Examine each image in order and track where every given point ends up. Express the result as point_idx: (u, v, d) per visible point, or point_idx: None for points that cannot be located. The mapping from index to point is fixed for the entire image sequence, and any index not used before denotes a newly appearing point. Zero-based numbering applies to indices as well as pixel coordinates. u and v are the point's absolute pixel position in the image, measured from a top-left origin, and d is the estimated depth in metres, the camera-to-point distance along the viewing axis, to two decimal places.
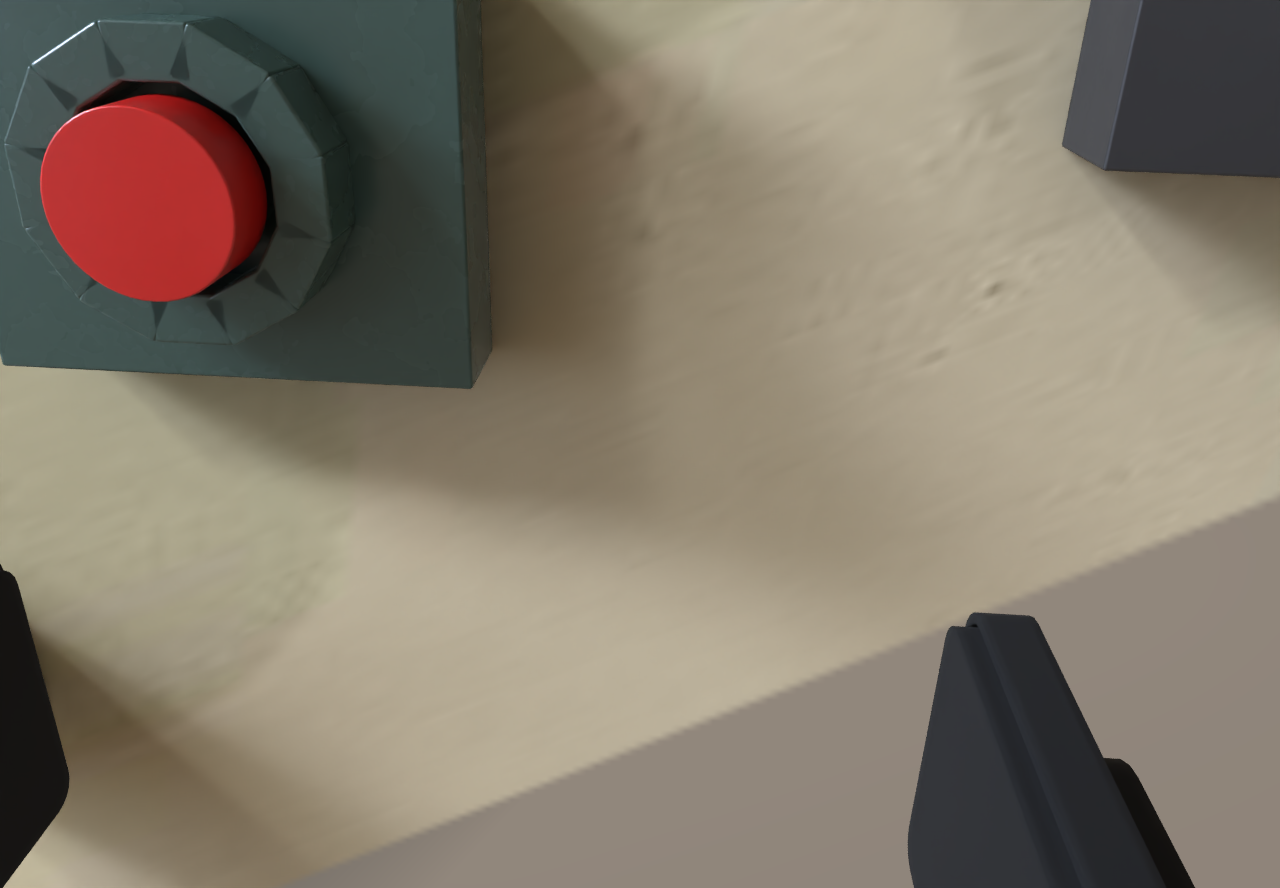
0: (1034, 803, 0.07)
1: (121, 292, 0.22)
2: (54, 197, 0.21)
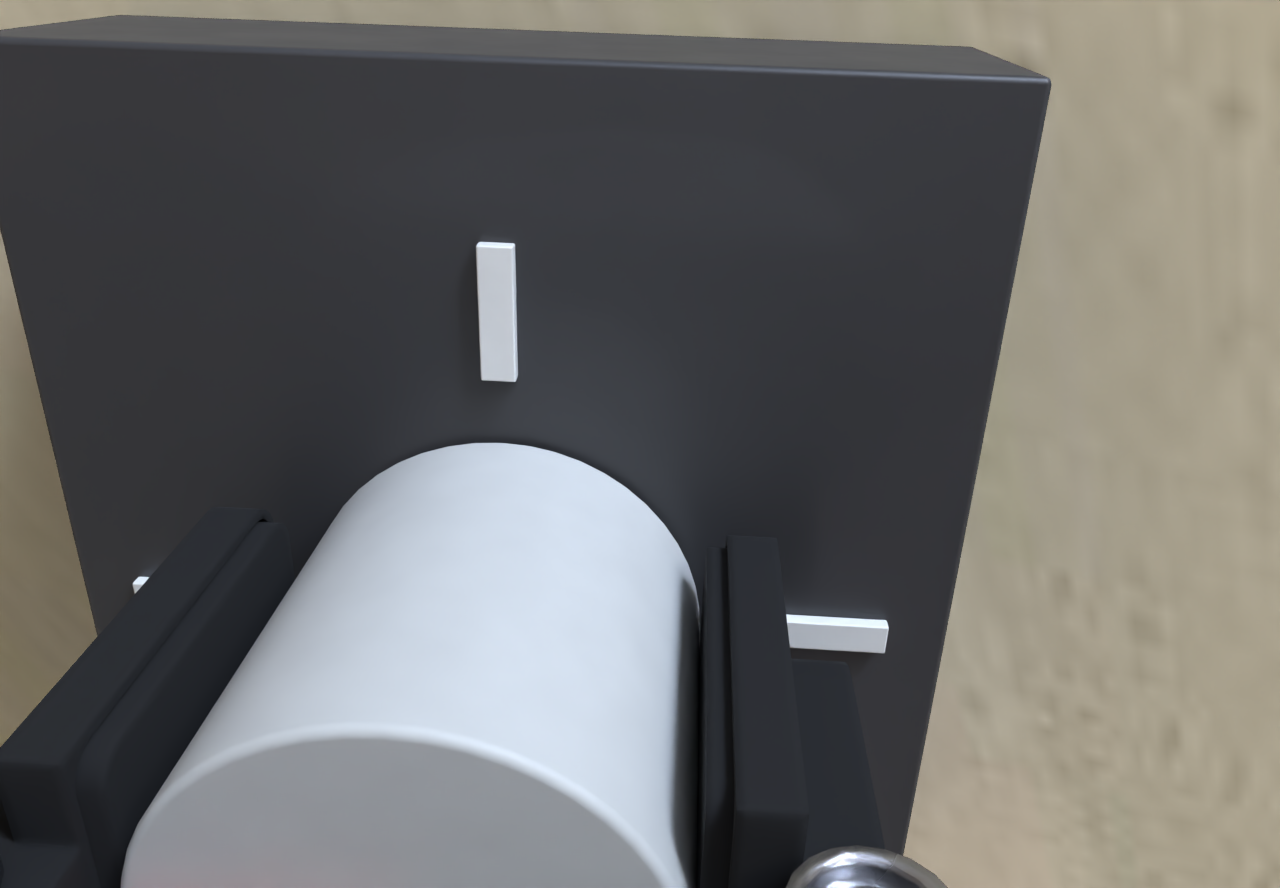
0: (719, 682, 0.09)
1: None
2: None
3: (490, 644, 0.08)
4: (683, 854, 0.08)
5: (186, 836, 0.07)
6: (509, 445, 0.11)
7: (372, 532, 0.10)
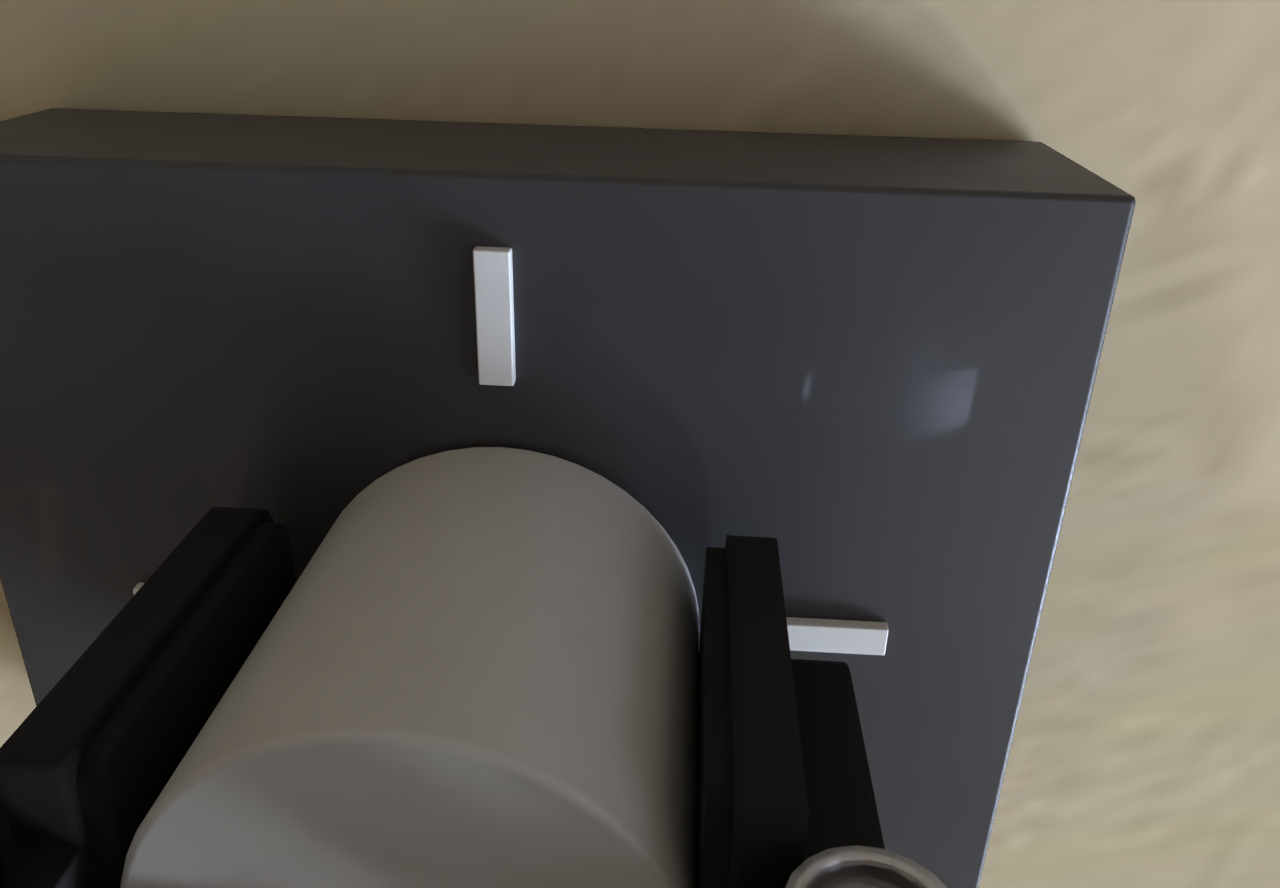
0: (719, 682, 0.09)
1: None
2: None
3: (488, 651, 0.08)
4: (683, 859, 0.08)
5: (185, 843, 0.07)
6: (507, 449, 0.11)
7: (370, 537, 0.10)
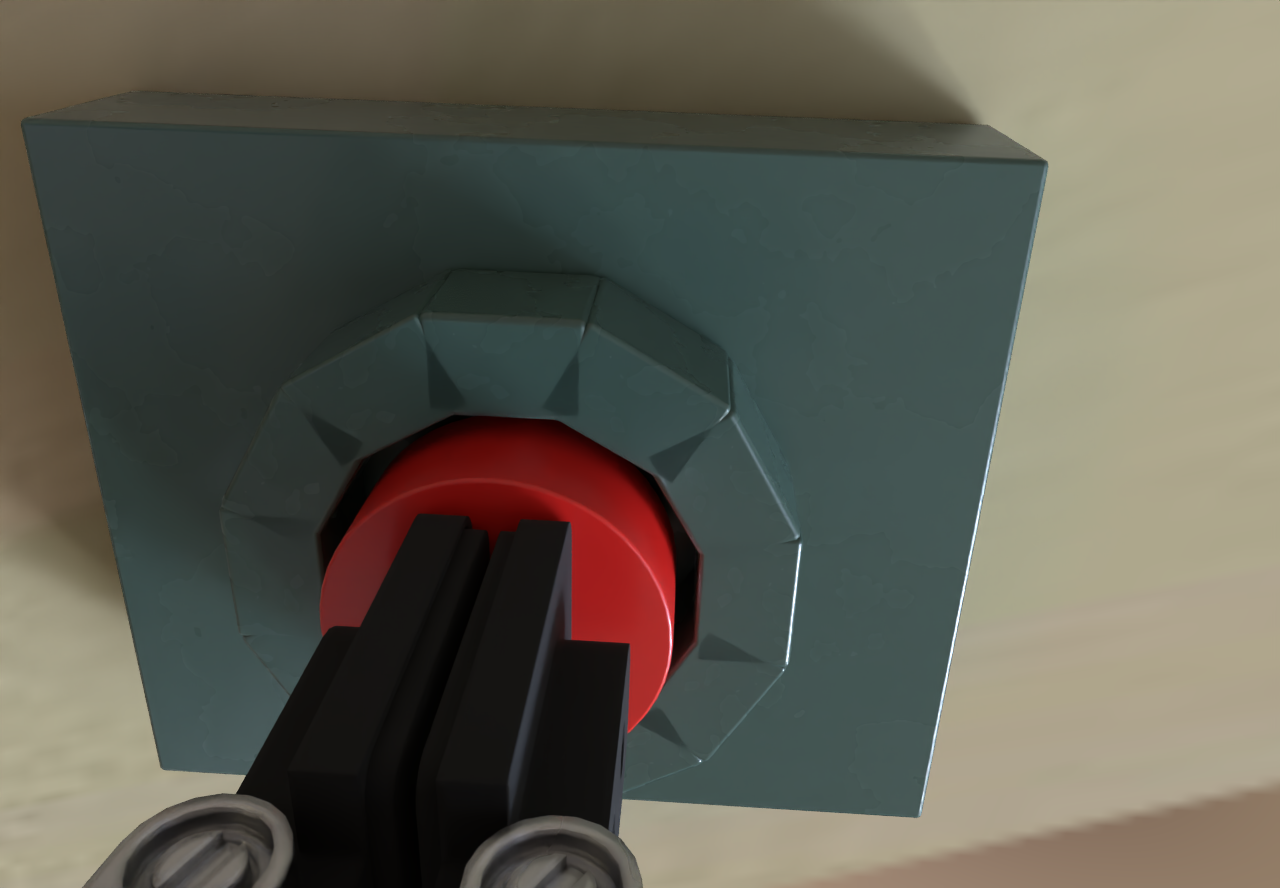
0: (467, 660, 0.09)
1: (553, 499, 0.11)
2: (644, 657, 0.12)
3: None
4: None
5: None
6: None
7: None
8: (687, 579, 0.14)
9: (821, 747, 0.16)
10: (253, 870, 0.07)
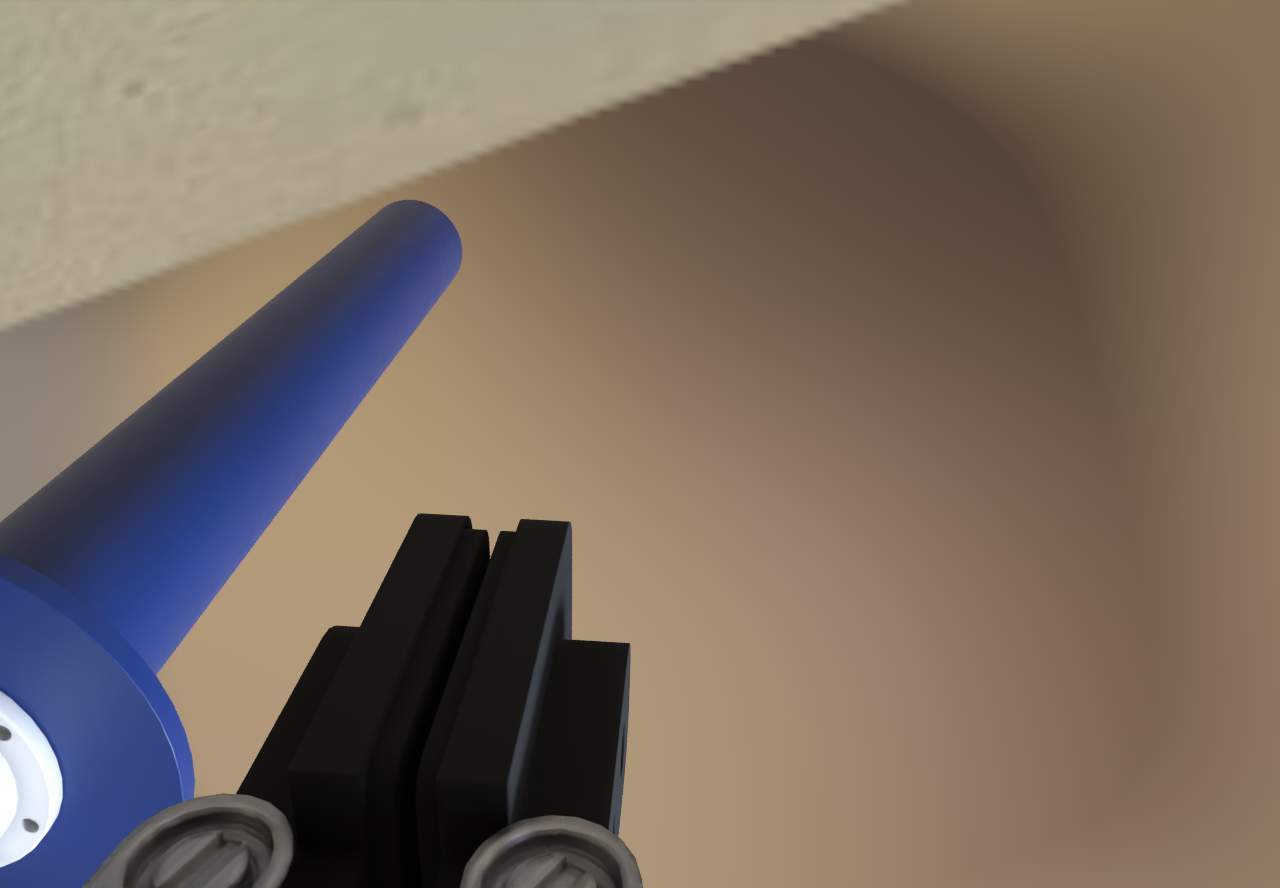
0: (467, 659, 0.09)
1: None
2: None
3: None
4: None
5: None
6: None
7: None
8: None
9: None
10: (253, 870, 0.07)
